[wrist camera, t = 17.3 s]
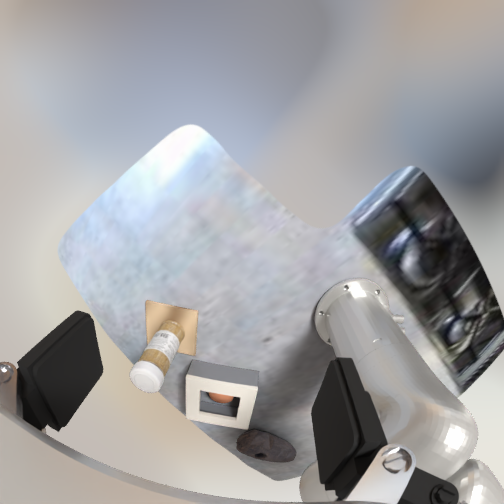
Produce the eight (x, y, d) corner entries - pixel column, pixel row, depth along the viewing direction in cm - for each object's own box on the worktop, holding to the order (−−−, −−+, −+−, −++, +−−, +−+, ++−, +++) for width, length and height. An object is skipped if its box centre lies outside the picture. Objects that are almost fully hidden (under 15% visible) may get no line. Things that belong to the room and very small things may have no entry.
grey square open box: (258, 371, 45) (257, 389, 41) (249, 411, 49) (247, 429, 44) (192, 359, 46) (185, 377, 41) (191, 401, 49) (186, 418, 44)
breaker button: (235, 383, 46) (234, 389, 45) (233, 399, 47) (232, 404, 46) (211, 379, 46) (209, 384, 45) (209, 395, 47) (208, 400, 46)
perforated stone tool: (301, 441, 52) (303, 463, 45) (287, 450, 53) (288, 472, 46) (249, 420, 50) (247, 445, 43) (236, 430, 51) (233, 454, 45)
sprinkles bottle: (159, 336, 44) (128, 387, 31) (161, 315, 43) (127, 364, 30) (184, 344, 44) (159, 398, 31) (187, 323, 43) (160, 376, 30)
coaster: (198, 310, 43) (197, 312, 42) (195, 353, 45) (194, 355, 45) (147, 300, 43) (145, 301, 42) (148, 342, 45) (147, 344, 45)
